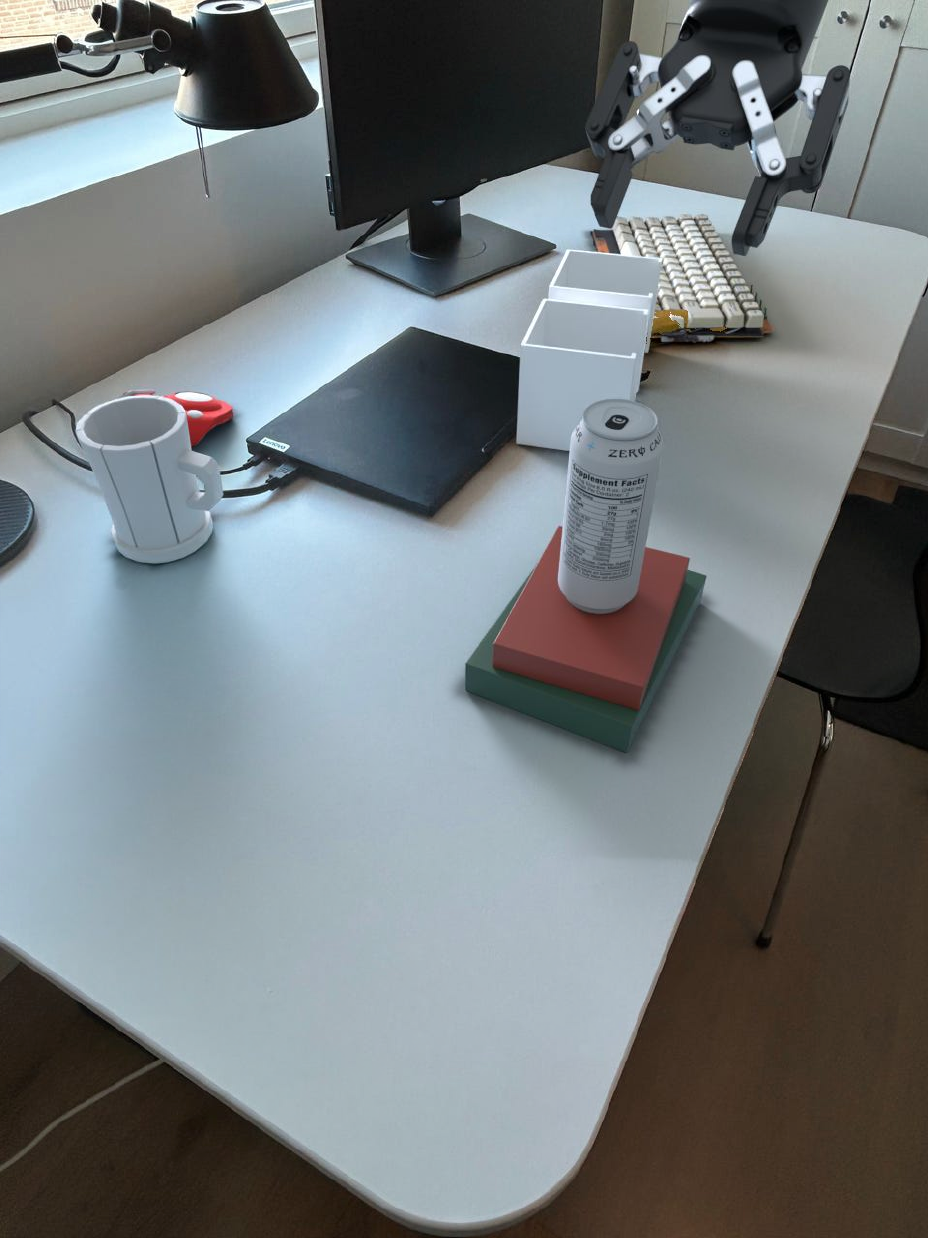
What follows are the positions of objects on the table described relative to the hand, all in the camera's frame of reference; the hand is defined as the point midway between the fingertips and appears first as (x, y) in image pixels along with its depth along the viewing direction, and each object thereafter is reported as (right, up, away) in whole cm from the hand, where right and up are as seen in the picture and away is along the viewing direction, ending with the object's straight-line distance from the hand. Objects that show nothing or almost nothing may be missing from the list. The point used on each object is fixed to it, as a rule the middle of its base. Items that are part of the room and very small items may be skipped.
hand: (668, 234), depth 52 cm
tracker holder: (-43, -2, +43) cm, 61 cm away
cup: (-39, -15, +29) cm, 51 cm away
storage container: (+2, +3, +48) cm, 48 cm away
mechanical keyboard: (+17, +24, +70) cm, 76 cm away
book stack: (-2, -25, +18) cm, 31 cm away
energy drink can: (-2, -21, +15) cm, 26 cm away
